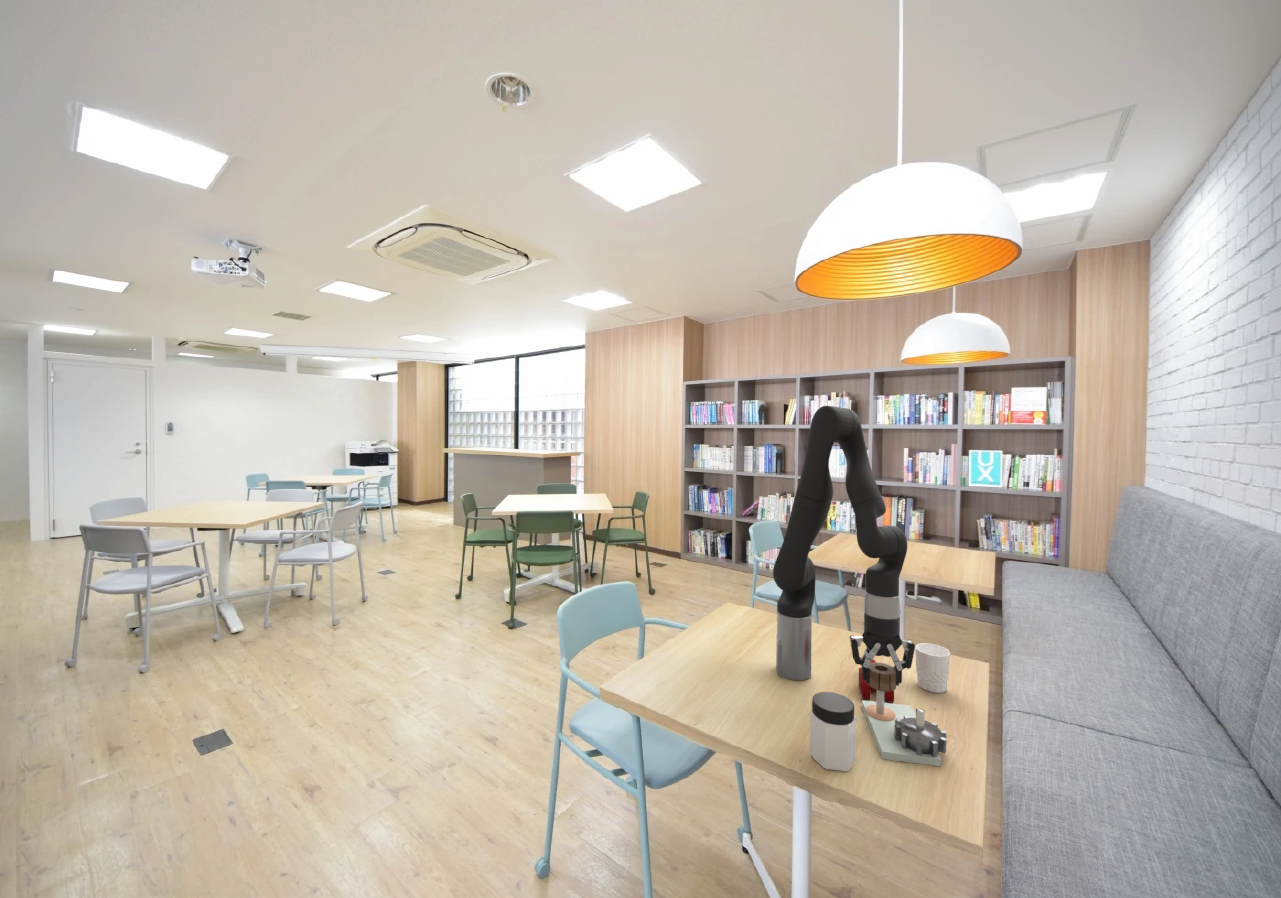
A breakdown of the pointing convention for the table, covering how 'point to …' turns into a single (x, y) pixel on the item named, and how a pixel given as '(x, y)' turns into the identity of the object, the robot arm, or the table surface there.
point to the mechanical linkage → (866, 689)
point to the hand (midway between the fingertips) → (881, 682)
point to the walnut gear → (882, 677)
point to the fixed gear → (920, 734)
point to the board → (892, 731)
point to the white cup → (932, 667)
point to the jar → (833, 731)
